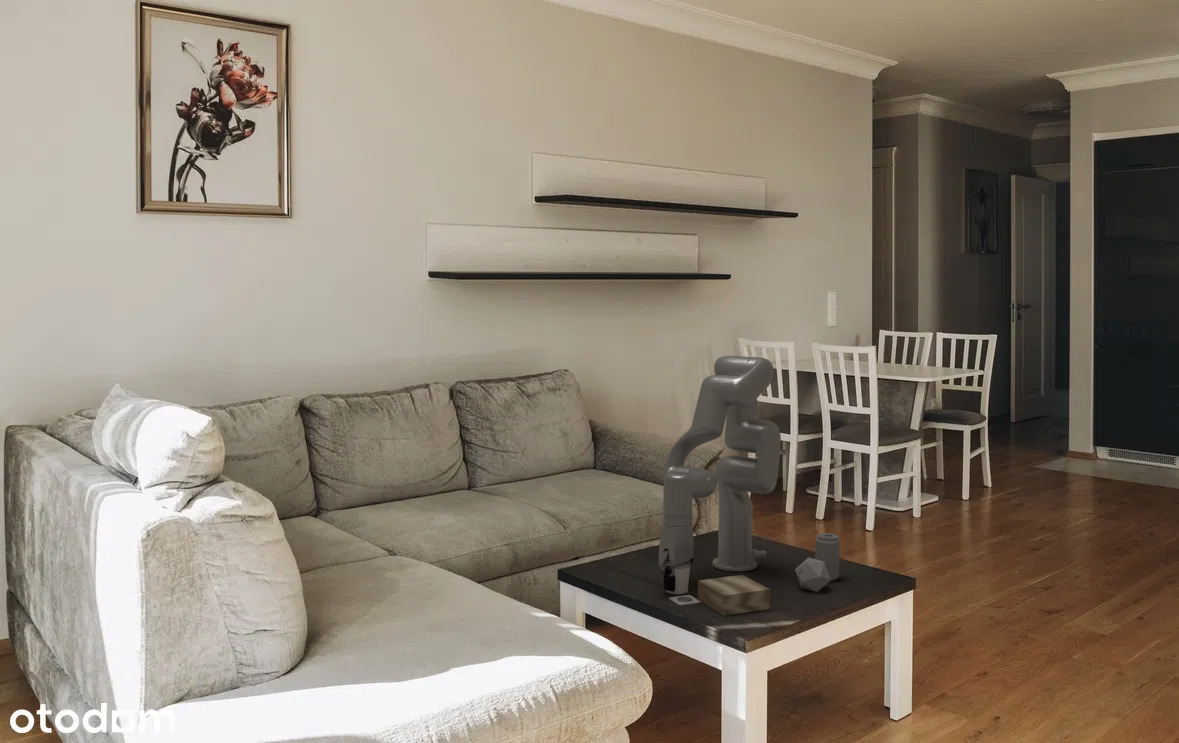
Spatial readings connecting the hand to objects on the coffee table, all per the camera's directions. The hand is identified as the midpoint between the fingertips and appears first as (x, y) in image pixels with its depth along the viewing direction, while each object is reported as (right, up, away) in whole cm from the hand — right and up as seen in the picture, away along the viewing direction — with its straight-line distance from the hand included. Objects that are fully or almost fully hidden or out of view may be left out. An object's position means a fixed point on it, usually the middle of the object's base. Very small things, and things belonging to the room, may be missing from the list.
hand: (676, 586), depth 255 cm
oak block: (+13, -2, -11) cm, 17 cm away
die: (+36, -1, +2) cm, 36 cm away
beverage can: (+42, 0, +11) cm, 43 cm away
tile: (+1, -2, -8) cm, 8 cm away
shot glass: (0, -1, 0) cm, 1 cm away
